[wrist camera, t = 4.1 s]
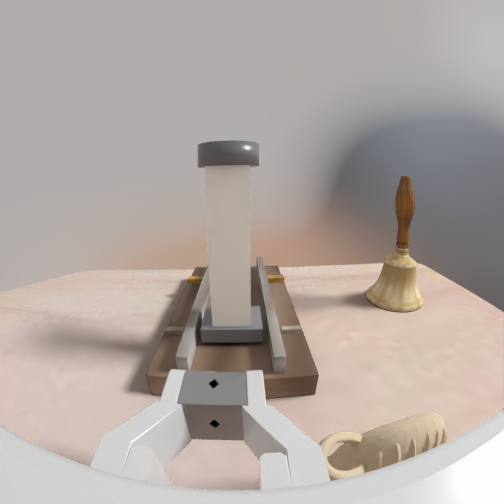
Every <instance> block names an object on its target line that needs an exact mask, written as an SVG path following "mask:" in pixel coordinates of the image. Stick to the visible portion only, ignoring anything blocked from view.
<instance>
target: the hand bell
mask: <svg viewBox="0 0 504 504" xmlns="http://www.w3.org/2000/svg"><path fill="white" fill-rule="evenodd" d="M414 209H415V194H414V189H413V186H412V182H411V178H410V177H408V176H401V180H400V184H399V186H398V189H397V194H396V215H397V220H398V235H397V243H396V246H397V247H396V252H395V253H394V254H393V255H390V256H388V257H386V258H385V261H384V265H383V268H382V271H381V274H380V276H379V278H378V280H377V282H376V283H375V284H374V285H372V286H371V287H370V288H369V289H368V290H367V292H366V297H367V299H368V300H369V301H370V302H371V303H372V304H374V305H376V306H378V307H380V308H382V309H386V310H390V311H396V312H409V311H414V310H417V309H418V308H420V307H421V306H422V304H423V299H422V296H421V294H420V293H419V291H418V288H417V284H416V262H415V260H413V259H412V258H411V257H409V255H408V247H409V244H408V242H409V228H410V224H411V221H412V218H413V215H414Z"/></svg>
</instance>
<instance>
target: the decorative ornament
mask: <svg viewBox="0 0 504 504" xmlns="http://www.w3.org/2000/svg"><path fill="white" fill-rule="evenodd" d="M446 439H447V431H446V428H445V423H444V420H443V418H442V417H441V416H440V415H439V414H437V413H423V414H418V415H415V416H411V417H408V418H405V419H402V420H399V421H396V422H393V423H389V424H386V425H383V426H381V427H378V428H376V429H373V430H370V431H368V432H365V433H362V434H358V433H355V432H350V431H343V432H338V433H334V434H331V435H329V436H327V437H326V438H324V439H323V440H322V441H321V442H320V443H319V445H320V446H321V447H322V451H323V455H324V458H325V462H326V466H327V469H328V473H329V477H330V481H333V480H338V479H343V478H347V477H351V476H355V475H359V474H363V473H367V472H370V471H374V470H377V469H380V468H383V467H386V466H389V465H392V464H395V463H398V462H401V461H404V460H406V459H409V458H412V457H414V456H417V455H419V454H421V453H424V452H426V451H428V450H431V449H433V448H435V447H437V446H439V445H441V444H443V443H446ZM340 442H344V444H343V445H341V446H340V447H339V448H338V449H337V450H336V451H335V452H334V453H333V454H332V455H330V456H328V457H327V453H328V451H329V449H330V448H331V447H332V446H333V445H334V444H336V443H340Z"/></svg>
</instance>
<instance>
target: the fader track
mask: <svg viewBox="0 0 504 504" xmlns="http://www.w3.org/2000/svg"><path fill="white" fill-rule="evenodd" d="M250 267H251V306H260V311H261V318H262V326H263V342H231V343H219V342H202V339H201V330H200V329H201V325H202V322H203V318H204V314H205V310H206V307H211V299H210V285H209V268H208V266H207V267H196V268H195V270H194V272H193V274H192V276H189V277H188V284H187V287H186V289H185V291H184V293H183V295H182V297H181V299H180V301H179V303H178V305H177V308H176V310H175V312H174V314H173V316H172V318H171V320H170V323H169V325H168V327H167V329H166V331H165V334H164V336H163V338H162V340H161V343H160V345H159V347H158V349H157V352H156V354H155V356H154V358H153V361H152V363H151V365H150V368H149V370H148V372H147V375H146V376H147V379H148V382H149V386H150V389H151V392H152V394H154V395H162V392H163V389H164V386H165V383H166V380H167V377H168V374H169V371H170V370H171V369H179V370H197V371H246V372H247V371H251V370H262V371H263V378H264V387H265V396H266V398H277V397H291V396H302V395H312V394H315V391H316V386H317V381H318V375H319V374H318V372H317V369H316V366H315V363H314V361H313V358H312V355H311V353H310V350H309V347H308V345H307V342H306V339H305V336H304V334H303V331H302V328H301V326H300V323H299V320H298V318H297V315H296V313H295V310H294V307H293V305H292V302H291V299H290V297H289V294H288V292H287V289H286V286H285V284H284V276H283V275H281V273H280V271H279V268H278V266H264V262H263V258H262V257H257V266H250ZM246 382H247V380H246Z"/></svg>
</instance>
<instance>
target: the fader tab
mask: <svg viewBox="0 0 504 504" xmlns="http://www.w3.org/2000/svg"><path fill="white" fill-rule="evenodd" d="M254 166H259V144H258V143H255V142H249V141H215V142H207V143H202V144H199V145H198V167H200V168H201V167H202V168H205V194H206V224H207V225H206V226H207V248H208V268H209V285H210V299H211V307H206V310H205V314H204V318H203V322H202V325H201V329H200V330H201V339H202V342H219V343H231V342H263V326H262V318H261V311H260V306H251V267H250V167H254Z"/></svg>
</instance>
